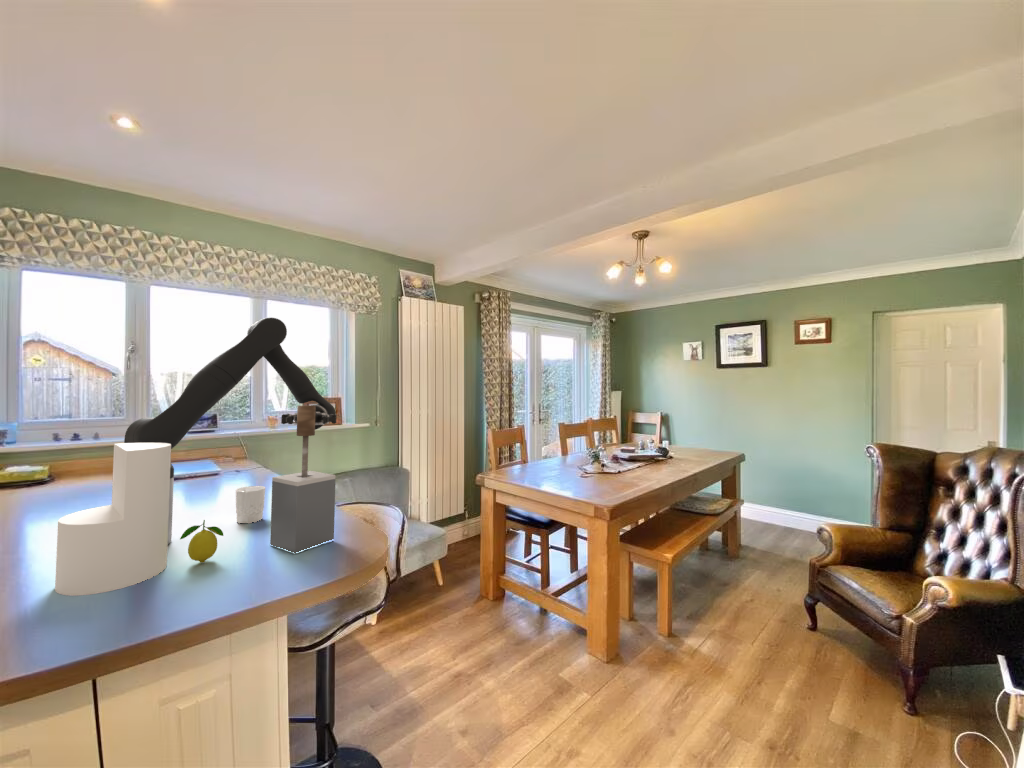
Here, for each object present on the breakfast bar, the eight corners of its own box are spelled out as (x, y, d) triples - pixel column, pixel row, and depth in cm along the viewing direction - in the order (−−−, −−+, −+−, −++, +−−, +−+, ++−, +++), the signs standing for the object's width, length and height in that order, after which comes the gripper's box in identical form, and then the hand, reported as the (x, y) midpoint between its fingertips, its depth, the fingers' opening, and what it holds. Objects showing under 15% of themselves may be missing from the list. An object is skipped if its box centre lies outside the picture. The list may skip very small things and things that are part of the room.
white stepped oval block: (157, 554, 100) (162, 440, 101) (175, 574, 90) (179, 447, 90) (52, 577, 87) (58, 447, 88) (57, 605, 76) (64, 455, 77)
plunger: (298, 511, 104) (301, 406, 105) (281, 507, 108) (284, 405, 109) (325, 504, 111) (328, 405, 111) (308, 500, 114) (310, 405, 115)
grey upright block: (295, 554, 101) (297, 482, 102) (270, 545, 107) (272, 477, 107) (333, 541, 111) (335, 475, 111) (309, 533, 116) (310, 470, 117)
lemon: (178, 569, 92) (180, 525, 92) (191, 559, 98) (192, 517, 98) (212, 566, 94) (214, 523, 94) (223, 556, 99) (224, 515, 100)
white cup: (253, 524, 123) (254, 491, 124) (228, 524, 124) (229, 491, 124) (269, 517, 131) (270, 486, 132) (245, 516, 131) (246, 485, 132)
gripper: (288, 404, 125) (278, 406, 109) (338, 405, 130) (335, 406, 114) (287, 429, 124) (277, 434, 109) (338, 428, 129) (334, 433, 114)
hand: (307, 420), depth 112 cm, fingers open, 8 cm apart
